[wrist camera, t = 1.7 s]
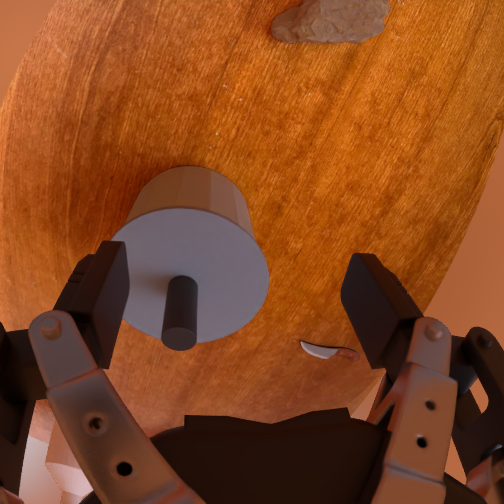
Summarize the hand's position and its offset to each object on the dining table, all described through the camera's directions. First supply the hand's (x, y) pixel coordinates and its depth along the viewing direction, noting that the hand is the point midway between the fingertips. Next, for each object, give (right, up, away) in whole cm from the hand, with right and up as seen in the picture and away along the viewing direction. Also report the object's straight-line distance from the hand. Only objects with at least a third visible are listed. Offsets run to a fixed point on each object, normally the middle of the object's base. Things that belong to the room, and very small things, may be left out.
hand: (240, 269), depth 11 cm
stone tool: (+7, +23, +12) cm, 27 cm away
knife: (+13, -16, +38) cm, 43 cm away
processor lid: (-5, -2, +14) cm, 15 cm away
